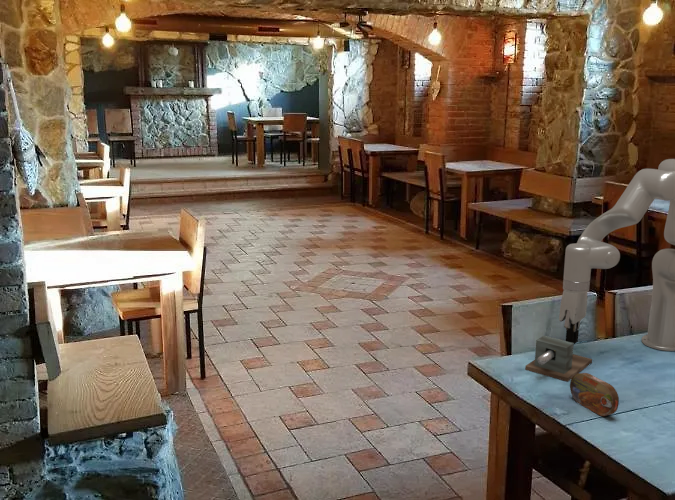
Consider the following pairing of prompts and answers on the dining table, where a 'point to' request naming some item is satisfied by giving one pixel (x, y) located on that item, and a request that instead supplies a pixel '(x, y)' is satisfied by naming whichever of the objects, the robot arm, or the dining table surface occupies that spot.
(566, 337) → the robot arm
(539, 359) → the shaft
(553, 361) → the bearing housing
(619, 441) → the dining table surface
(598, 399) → the tin
